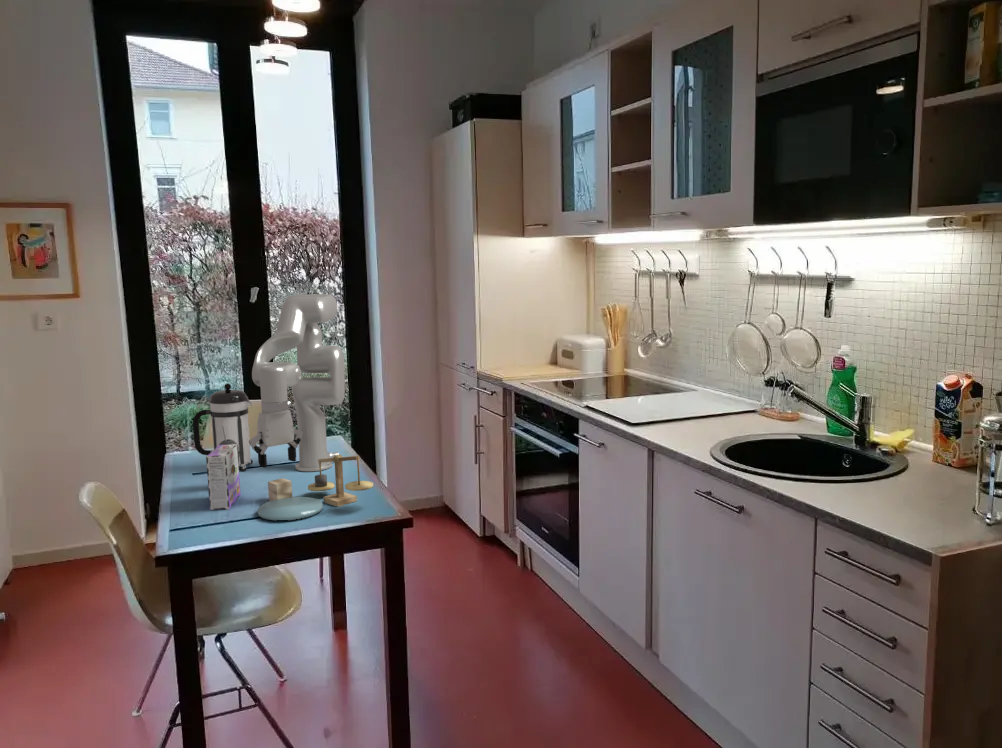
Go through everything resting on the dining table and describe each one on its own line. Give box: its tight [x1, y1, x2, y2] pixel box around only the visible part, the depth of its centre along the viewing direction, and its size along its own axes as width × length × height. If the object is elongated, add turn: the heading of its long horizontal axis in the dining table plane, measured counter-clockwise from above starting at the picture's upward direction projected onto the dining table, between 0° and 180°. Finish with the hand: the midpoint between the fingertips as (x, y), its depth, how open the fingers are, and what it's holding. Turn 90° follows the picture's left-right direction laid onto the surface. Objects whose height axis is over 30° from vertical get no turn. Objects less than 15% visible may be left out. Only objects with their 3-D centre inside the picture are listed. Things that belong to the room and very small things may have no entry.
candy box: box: [205, 444, 242, 511], centre depth 232 cm, size 14×6×16 cm, turn 5°
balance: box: [307, 454, 374, 508], centre depth 231 cm, size 8×28×16 cm, turn 47°
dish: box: [257, 496, 324, 521], centre depth 223 cm, size 18×18×2 cm
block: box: [267, 477, 293, 502], centre depth 234 cm, size 5×5×6 cm
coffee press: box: [192, 383, 254, 472], centre depth 270 cm, size 17×16×30 cm
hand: (277, 463), depth 232 cm, fingers open, 9 cm apart
